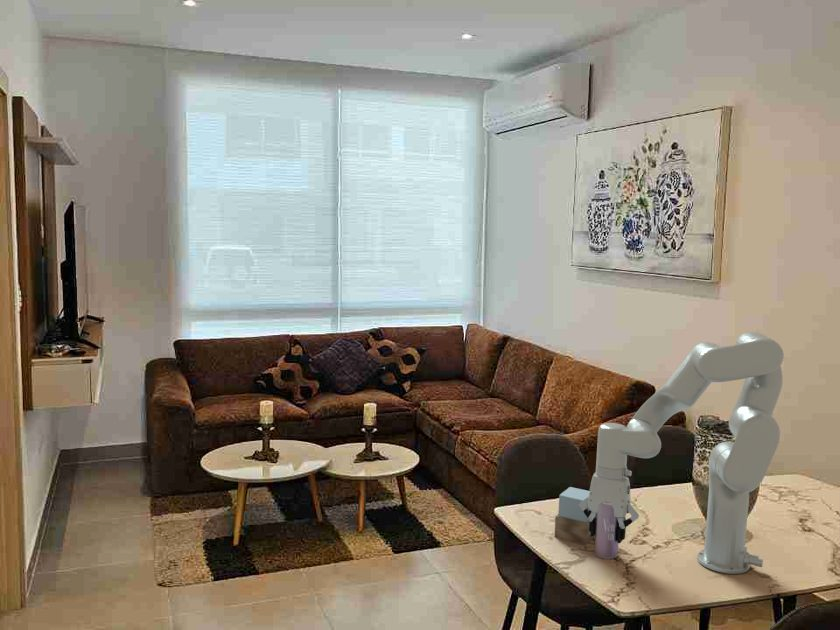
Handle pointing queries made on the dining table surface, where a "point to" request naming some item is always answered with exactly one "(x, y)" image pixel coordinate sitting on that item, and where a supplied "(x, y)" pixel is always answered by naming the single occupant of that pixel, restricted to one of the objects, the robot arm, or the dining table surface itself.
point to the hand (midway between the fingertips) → (606, 537)
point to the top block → (572, 504)
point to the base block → (572, 530)
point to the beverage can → (606, 532)
